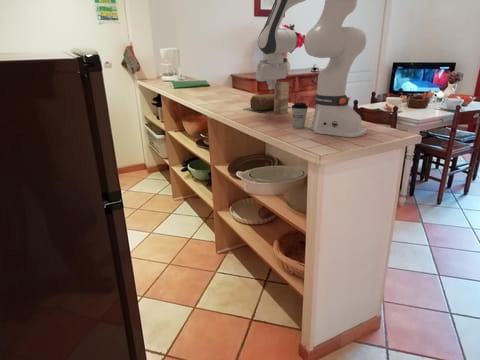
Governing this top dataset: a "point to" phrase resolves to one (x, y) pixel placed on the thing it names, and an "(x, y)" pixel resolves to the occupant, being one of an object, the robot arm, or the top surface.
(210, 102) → the top surface
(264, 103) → the block
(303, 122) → the coffee cup
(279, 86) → the oak post
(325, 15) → the robot arm
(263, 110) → the grey rubber mat
